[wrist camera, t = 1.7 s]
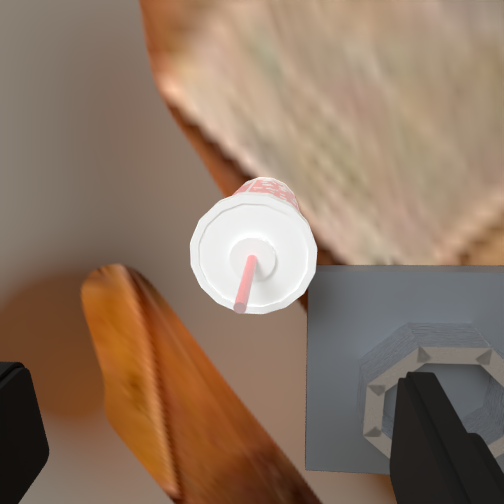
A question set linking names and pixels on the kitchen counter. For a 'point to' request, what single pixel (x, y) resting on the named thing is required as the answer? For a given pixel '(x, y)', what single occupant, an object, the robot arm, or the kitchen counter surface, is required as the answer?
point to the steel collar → (417, 354)
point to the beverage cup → (254, 249)
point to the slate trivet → (375, 331)
